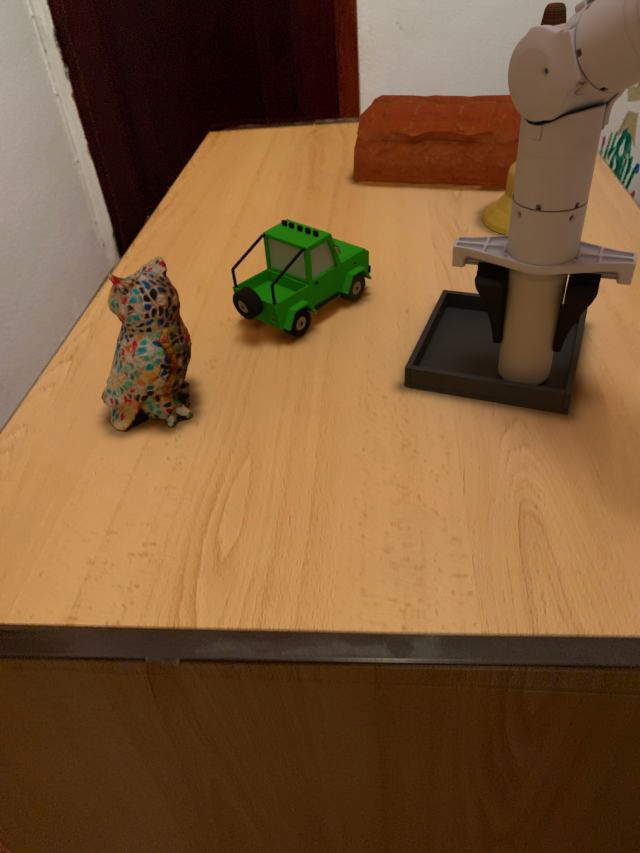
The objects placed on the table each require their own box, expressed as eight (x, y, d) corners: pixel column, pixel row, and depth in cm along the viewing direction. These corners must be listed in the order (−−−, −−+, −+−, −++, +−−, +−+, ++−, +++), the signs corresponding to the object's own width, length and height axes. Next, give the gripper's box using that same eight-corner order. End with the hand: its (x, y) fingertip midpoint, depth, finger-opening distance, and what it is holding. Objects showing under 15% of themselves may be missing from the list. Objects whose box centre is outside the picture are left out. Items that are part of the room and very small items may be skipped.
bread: (371, 151, 115) (369, 85, 108) (530, 155, 107) (539, 84, 100) (346, 186, 104) (342, 115, 97) (521, 193, 96) (530, 117, 89)
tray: (583, 325, 69) (588, 306, 68) (567, 414, 59) (571, 394, 58) (442, 307, 74) (443, 289, 73) (404, 386, 64) (404, 367, 63)
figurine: (136, 375, 69) (92, 243, 59) (216, 381, 67) (184, 245, 57) (99, 429, 63) (43, 290, 53) (185, 437, 61) (144, 295, 51)
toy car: (377, 290, 78) (375, 209, 72) (274, 357, 70) (260, 272, 63) (326, 271, 83) (319, 193, 77) (223, 331, 74) (205, 250, 68)
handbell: (592, 230, 86) (637, 5, 69) (500, 243, 85) (524, 20, 68) (552, 194, 95) (583, -11, 79) (469, 206, 94) (484, 2, 78)
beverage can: (494, 387, 62) (508, 272, 54) (499, 358, 65) (512, 246, 58) (548, 393, 61) (569, 276, 53) (550, 363, 64) (570, 249, 56)
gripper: (651, 183, 52) (615, 329, 61) (468, 173, 57) (459, 309, 66) (649, 221, 47) (610, 373, 56) (449, 206, 52) (442, 348, 61)
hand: (528, 341), depth 61 cm, fingers closed on beverage can, 5 cm apart
